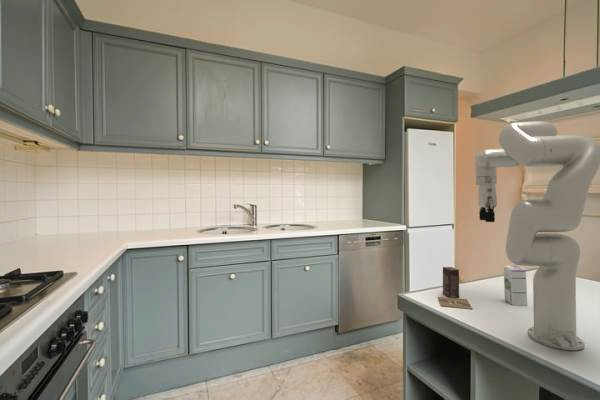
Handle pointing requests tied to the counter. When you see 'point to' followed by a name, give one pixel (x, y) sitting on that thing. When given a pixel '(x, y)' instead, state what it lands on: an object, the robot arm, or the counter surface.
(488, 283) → the counter surface
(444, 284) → the box
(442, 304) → the brown board
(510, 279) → the syrup box
